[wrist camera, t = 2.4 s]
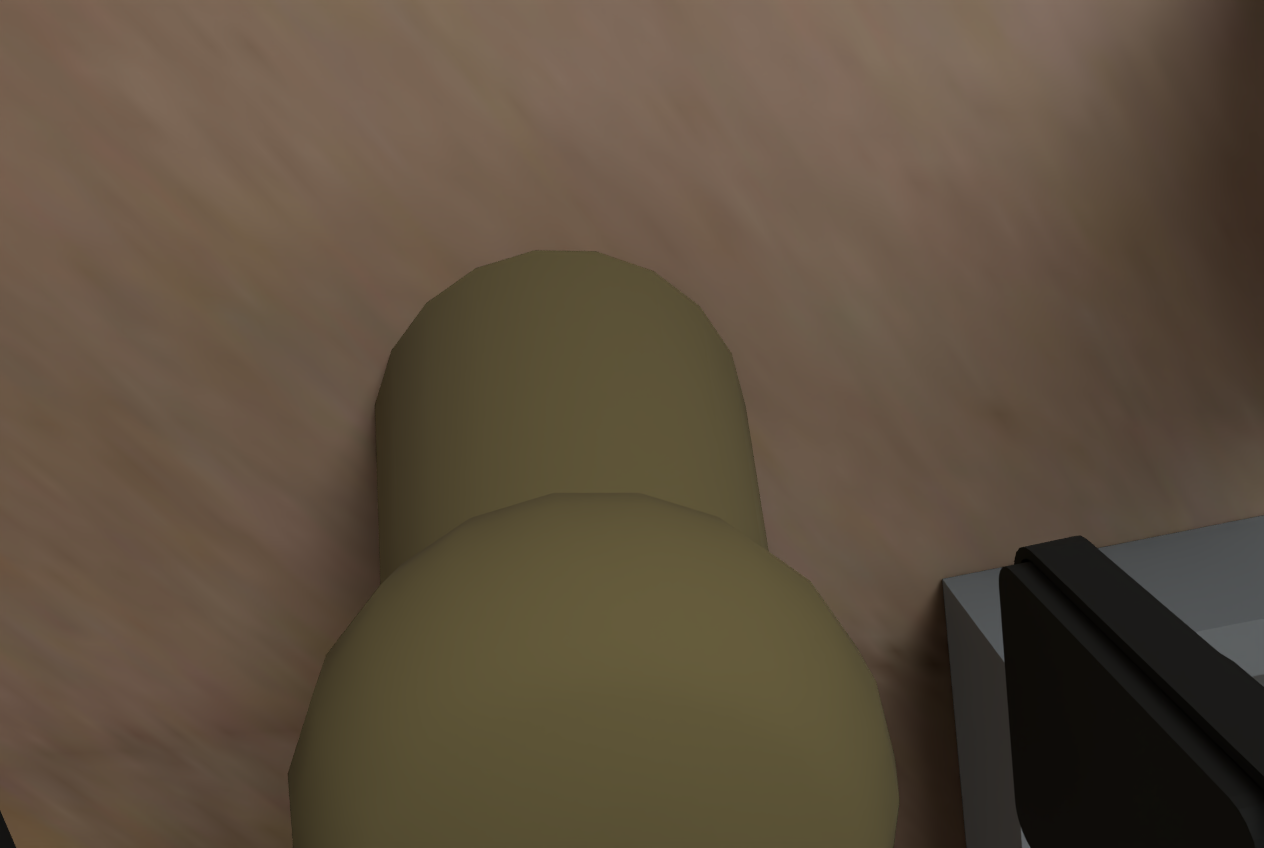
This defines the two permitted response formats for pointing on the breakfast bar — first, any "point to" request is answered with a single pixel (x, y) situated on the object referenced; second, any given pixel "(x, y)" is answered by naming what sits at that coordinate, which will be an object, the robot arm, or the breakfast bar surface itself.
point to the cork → (582, 598)
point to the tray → (1165, 566)
